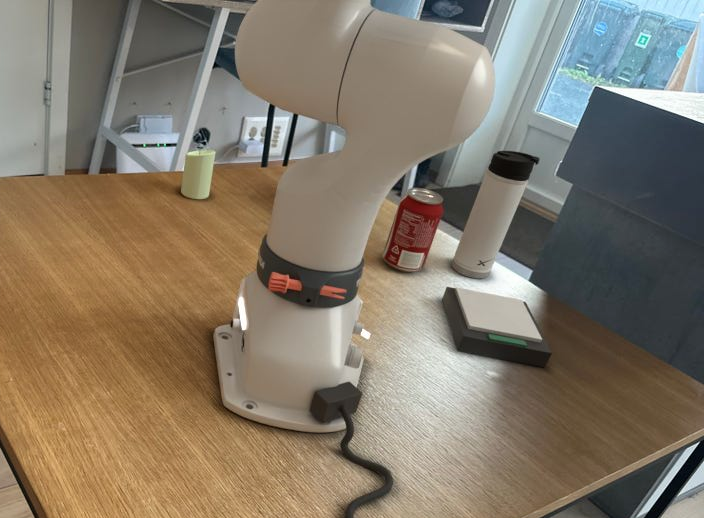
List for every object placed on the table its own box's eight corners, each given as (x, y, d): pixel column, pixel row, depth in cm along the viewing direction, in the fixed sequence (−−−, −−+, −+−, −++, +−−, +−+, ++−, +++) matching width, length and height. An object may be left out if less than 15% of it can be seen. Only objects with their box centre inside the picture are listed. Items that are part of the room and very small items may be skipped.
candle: (175, 192, 124) (180, 146, 119) (191, 186, 128) (197, 141, 123) (198, 202, 122) (204, 155, 117) (214, 195, 126) (221, 150, 121)
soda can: (423, 278, 111) (448, 207, 105) (380, 268, 112) (403, 197, 105) (421, 260, 117) (445, 192, 110) (381, 251, 117) (403, 182, 111)
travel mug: (485, 283, 113) (535, 163, 102) (446, 268, 116) (491, 149, 104) (494, 271, 118) (543, 155, 107) (456, 257, 120) (501, 142, 109)
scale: (544, 367, 95) (554, 349, 93) (457, 350, 95) (465, 332, 93) (519, 315, 106) (527, 298, 104) (441, 300, 106) (448, 282, 104)
